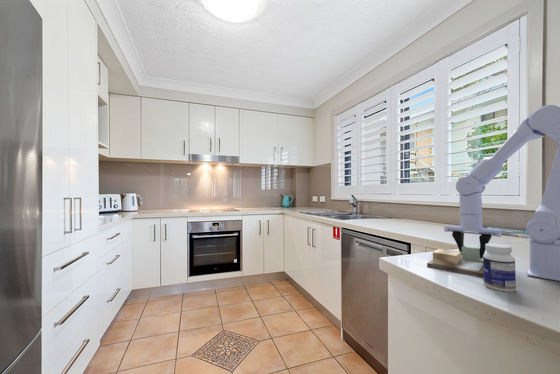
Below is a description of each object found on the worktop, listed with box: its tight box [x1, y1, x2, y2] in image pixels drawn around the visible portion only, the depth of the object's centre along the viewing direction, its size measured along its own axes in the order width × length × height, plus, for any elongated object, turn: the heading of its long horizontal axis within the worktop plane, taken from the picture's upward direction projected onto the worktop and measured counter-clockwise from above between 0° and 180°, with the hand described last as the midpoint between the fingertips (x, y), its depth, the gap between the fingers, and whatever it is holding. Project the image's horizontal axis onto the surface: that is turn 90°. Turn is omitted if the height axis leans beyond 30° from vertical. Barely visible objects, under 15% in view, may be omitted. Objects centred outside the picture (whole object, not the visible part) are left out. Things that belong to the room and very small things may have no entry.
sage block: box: [461, 244, 483, 263], centre depth 80 cm, size 4×4×4 cm
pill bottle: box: [482, 242, 517, 293], centre depth 58 cm, size 6×6×10 cm
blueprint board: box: [426, 248, 484, 278], centre depth 74 cm, size 14×12×4 cm
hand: (471, 256), depth 80 cm, fingers closed on sage block, 4 cm apart
